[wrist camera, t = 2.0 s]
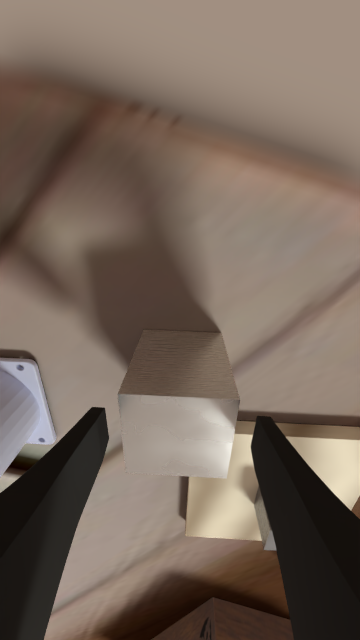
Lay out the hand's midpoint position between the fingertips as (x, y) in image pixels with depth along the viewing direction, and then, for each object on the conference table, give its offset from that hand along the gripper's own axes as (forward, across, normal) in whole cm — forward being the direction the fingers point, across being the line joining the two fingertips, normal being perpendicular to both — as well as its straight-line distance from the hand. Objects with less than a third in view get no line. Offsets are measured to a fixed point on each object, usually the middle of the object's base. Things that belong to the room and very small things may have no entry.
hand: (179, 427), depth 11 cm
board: (+5, -8, +12) cm, 15 cm away
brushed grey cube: (+5, 0, 0) cm, 5 cm away
